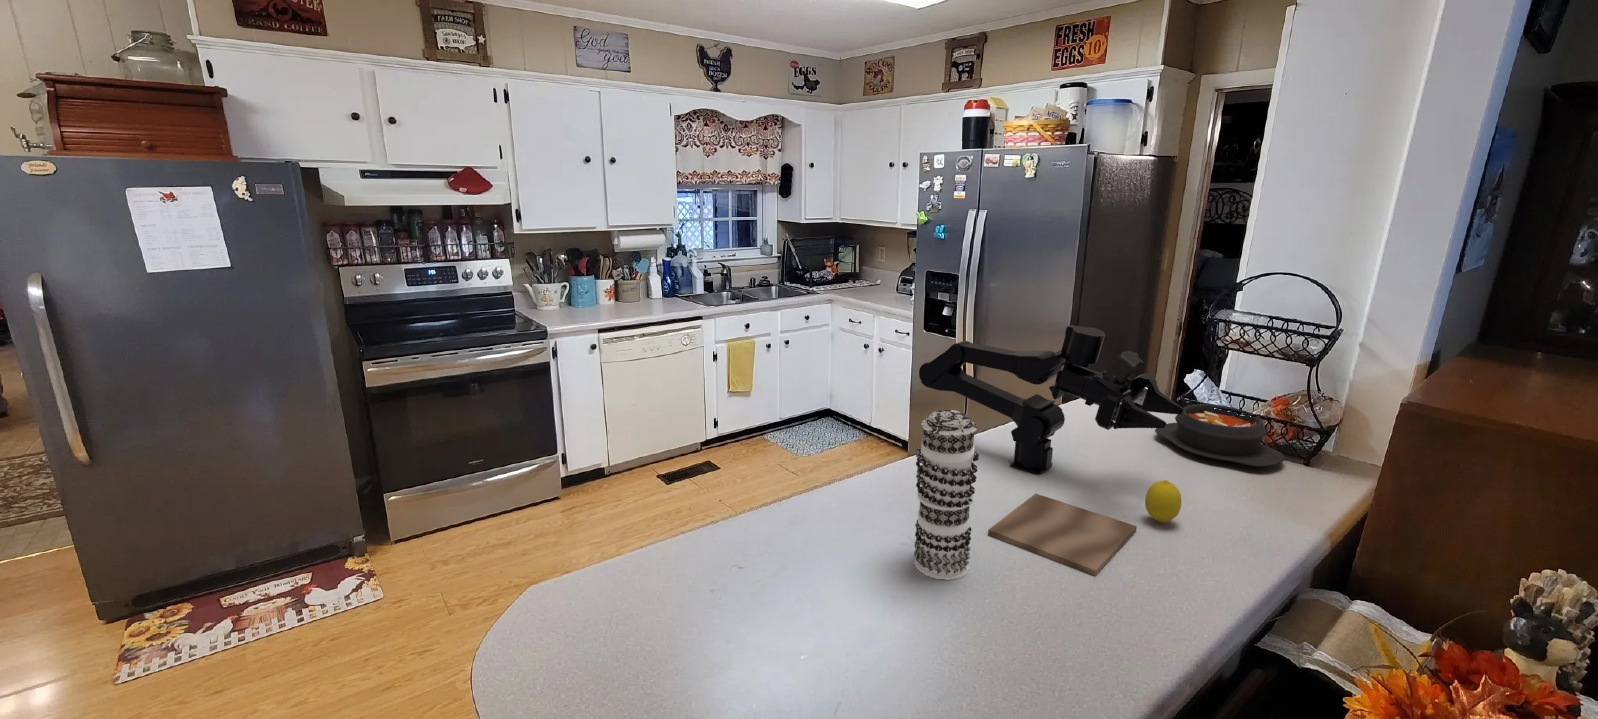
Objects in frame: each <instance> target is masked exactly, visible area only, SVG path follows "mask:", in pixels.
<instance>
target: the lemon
mask: <svg viewBox="0 0 1598 719" xmlns="http://www.w3.org/2000/svg"><path fill="white" fill-rule="evenodd" d="M1145 494H1146V495H1145V498H1144V505H1145V506H1144V507H1145V509H1146V511H1147V513H1148V515H1150V517H1151V518H1153V519H1154V520H1156V521H1157V522H1158V523H1164V522H1168V521H1169V522H1170V521H1173V519H1175V518H1176V517H1177V516H1178V515H1179V513H1180V512H1181V508H1182V495H1181V492H1180V490H1179V488H1178V487H1177V486H1176V485H1175V484H1173V483H1172V482H1170V481H1169V480H1167V479H1163V480H1161V481H1156V482H1154V483H1152V484H1151V485H1150V487H1148V489H1147V492H1146V493H1145Z"/></svg>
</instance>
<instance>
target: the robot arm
mask: <svg viewBox="0 0 1598 719" xmlns="http://www.w3.org/2000/svg"><path fill="white" fill-rule="evenodd" d="M1105 337H1106V333H1105V332H1104V331H1103V330H1101V329H1098V328H1096V327H1093V326H1091V327H1088V326H1081V325H1080V326H1079V325H1074V324H1071V325H1068V326H1066V328H1065V336H1064V340H1063V343H1062V347H1061V350H1059V351H1056V352H1054V351H1052V350H1028V351H1027V350H1025V351H1016V350H1011V349H1005V348H1000V347H995V346H990V345H986V344H984V345H983V344H979V343H974V342H971V341H968V340H962V341H959V342H956V343H953V344H952V345H950V347H949V348H948V349H946V350H945V351H944V352H942V353H941V354H940V355H939V356H937V357H935V358H934V359H932V360H930V361H927V362H924V363H923V364H921V366H920V367H919V370H918V375H919V380H920V383H921V384H922V385H923V386H924V387H926V388H928V389H933V390H936V391H940V392H942V391H943V392H954V393H956V394H958V395H961V396H962V397H965V398H967V399H969V400H971V401H973V402H976V403H978V404H980V405H981V406H984V407H986V408H989V409H991V410H992V411H995V412H997V413H999V414H1001V415H1004V416H1006V417H1008V418H1009V419H1011V420H1012V421H1013V422H1014V424H1015V425H1016V426H1017V427H1015V428H1014V429H1012V430H1011V431H1010V433H1011V437H1012V441H1014V442H1015V444H1014V457H1013V461H1011V462H1010V463H1009V466H1010V467H1013V468H1016V469H1019V470H1023V471H1025V472H1029V473H1033V474H1035V475H1042V473H1044V472H1046V471H1047V470H1049V469H1050V468H1051V467H1052V466H1053V462H1052V461H1053V453H1054V452H1053V450H1054V448H1053V447H1052V439H1051V438H1050V437H1053V436H1054V435H1055V433H1056V432H1057V431H1058V430H1060V429H1062V428H1063V426H1064V424H1065V421H1066V420H1065V419H1066V417H1065V414H1064V412H1063V409H1062V407H1061V406H1059V405H1057V404H1055V402H1056V400H1058V399H1059V398H1061V397H1063V396H1065V393H1066V394H1069V395H1072V396H1073V397H1076V398H1079V399H1082V400H1083V401H1085V402H1084V404H1085V405H1087V406H1090V407H1091V406H1092V405H1097V406H1098V408H1097V411H1096V415H1095V418H1094V421H1095V422H1096V424H1097V425H1098V426H1099V427H1100V428H1103V429H1105V430H1107V431H1109V430H1111V429H1112V428H1113V430H1118V429H1156V428H1165V426H1166V424H1167V421H1165V420H1163V419H1162V418H1160V417H1158V416H1156V415H1155V414H1152V413H1157V414H1158V413H1161V414H1168V415H1178V414H1179V415H1181V414H1183V411H1184V409H1183V408H1184V407H1182V406H1181V405H1179V404H1178V403H1176V402H1175V401H1173V400H1172V399H1171V398H1169V397H1168V396H1167V395H1166V394H1164V393H1163V392H1162V391H1160V389H1159V386H1158V384H1157V383H1158V381H1157V380H1156V376H1155V375H1152V374H1148V373H1146V372H1145V373H1143V374H1140V375H1138V376H1136V377H1135V378H1130V377H1131V376H1132V374H1133V373H1134V372H1135V371H1136V370H1137V368H1138V367H1141V365H1142V364H1144V361H1143V360H1142V359H1141V358H1140V357H1139V356H1140V355H1139V353H1138V352H1133V351H1132V350H1127V351H1123V352H1121V353H1120V355H1119V356H1117V358H1116V359H1115V360H1114V362H1113V363H1112V364H1111V366H1109V368H1108V369H1107V370H1103V371H1101V372H1098V371H1094V370H1093V369H1089V367H1090V365H1093V364H1097V362H1098V360H1099V356H1100V352H1101V350H1102V347H1103V343H1104V339H1105ZM965 363H967V364H970V365H977V366H980V367H985V368H990V369H996V370H999V371H1005V372H1008V373H1010V374H1013V375H1014V376H1016V378H1018V379H1020V380H1022V381H1025V382H1027V383H1030V384H1032V385H1042V384H1045V383H1047V382H1048V381H1051V380H1053V379H1055V380H1054V384H1052V385H1050V386H1049V387H1048V389H1049V391H1050V392H1051V395H1052V398H1053V399H1054V400H1053V399H1052V400H1051V399H1047V398H1045V397H1044V396H1042V395H1041V394H1038V393H1036V394H1034V395H1032V396H1030V397H1028V398H1022V397H1020V396H1017V395H1015V394H1013V393H1011V392H1008V391H1006V390H1004V389H1001V388H1000V387H997V386H996V385H992V384H991V383H988V382H985V381H983V380H981V379H978V378H977V377H974V376H971V375H970V374H968V373H966V372H965V371H964V369H963V368H962V367H963V366H964V364H965ZM1129 386H1130V387H1129Z"/></svg>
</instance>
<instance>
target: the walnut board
mask: <svg viewBox="0 0 1598 719" xmlns="http://www.w3.org/2000/svg"><path fill="white" fill-rule="evenodd" d="M1137 526H1138V525H1135V524H1132V523H1128V522H1126V521H1122V520H1120V519H1116V518H1113V517H1109V516H1106V515H1103V514H1101V513H1098V512H1095V511H1092V510H1088V509H1085V508H1082V507H1079V506H1076V505H1073V504H1071V503H1070V504H1069V503H1067V502H1064V501H1060V500H1057V499H1054V498H1051V497H1049V496H1045V495H1042V494H1038V493H1035V494H1033V495H1032V496H1030V497H1029V498H1028V499H1027V500H1025V501H1024V502H1023V503H1021V504H1019V505H1018V506H1017V507H1016V508H1015V509H1014V510H1012V511H1010V513H1008V514H1007V515H1005V516H1004V517H1003V518H1002V519H1001V520H999V521H998V522H996V523H995V524H994V525H993V526H991V527H990V528H988V530H987V536H990V537H992V538H995V539H997V540H1000V541H1002V542H1005V543H1007V544H1010V545H1013V546H1015V547H1018V548H1020V549H1024V550H1026V551H1028V552H1031V553H1034V554H1036V555H1039V556H1041V557H1045V558H1047V559H1049V560H1053V561H1054V562H1058V563H1060V564H1062V565H1065V566H1067V567H1070V568H1073V569H1075V570H1078V571H1081V572H1083V573H1086V574H1089V575H1091V576H1094V577H1096V576H1097V575H1098V574H1099V573H1100V572H1101V571H1102V569H1103V568H1104V567H1105V566H1107V564H1108V563H1109V562H1110V561H1111V559H1113V558H1114V557H1115V555H1116V554H1117V553H1118V552H1119V551H1120V550H1121V549H1122V547H1123V546H1124V545H1125V544H1127V542H1128V541H1129V540H1130V539H1131V538H1132V537H1133V536H1134V534H1135V533H1136V532H1137Z"/></svg>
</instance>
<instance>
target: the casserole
mask: <svg viewBox="0 0 1598 719" xmlns="http://www.w3.org/2000/svg"><path fill="white" fill-rule="evenodd" d="M1216 407H1218V408H1223V409H1231V410H1237V411H1241V412H1246V413H1248V414H1250V415H1253V414H1254V413H1253V412H1249V411H1247V410H1243V409H1240V408H1235V407H1232V406H1226V405H1220V404H1209V403H1208V404H1207V403H1199V404H1198V403H1197V404H1189V405H1186V406H1184V407H1182V408H1183V409H1184V411H1183V414H1181V415H1179V414H1176V415H1175V417H1174V420H1175V422H1169V423H1166V426H1165V428H1154V432H1155V433H1156V435H1158V436H1159V437H1162V438H1163V439H1165V440H1168V441H1169V442H1171V443H1172V444H1174V445H1175V446H1176V447H1178V448H1180V449H1182V450H1184V451H1186V452H1189V453H1191V454H1194V455H1196V456H1200V457H1202V458H1206V459H1209V460H1210V459H1211V460H1214V461H1215V460H1216V461H1222V462H1233V463H1237V464H1241V465H1245V466H1248V467H1249V466H1250V467H1257V468H1263V467H1264V468H1265V467H1272V466H1276V465H1279V464H1281V463H1283V462H1284V461H1285V455H1284V454H1283V453H1282V452H1280V451H1278V450H1277V449H1274V448H1272V447H1270V446H1267V445H1265V444H1264V443H1262V442H1261V441H1262V439H1263V438H1264V437H1265V436H1267V433H1268V431H1267V429H1266V427H1265V426H1264V422H1263V420H1262V418H1261V417H1259V416H1258V417H1259V418H1258V417H1250V416H1240V415H1237V414H1236V413H1233V412H1227V411H1226V410H1219V409H1214V408H1216ZM1261 443H1262V444H1261Z"/></svg>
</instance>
